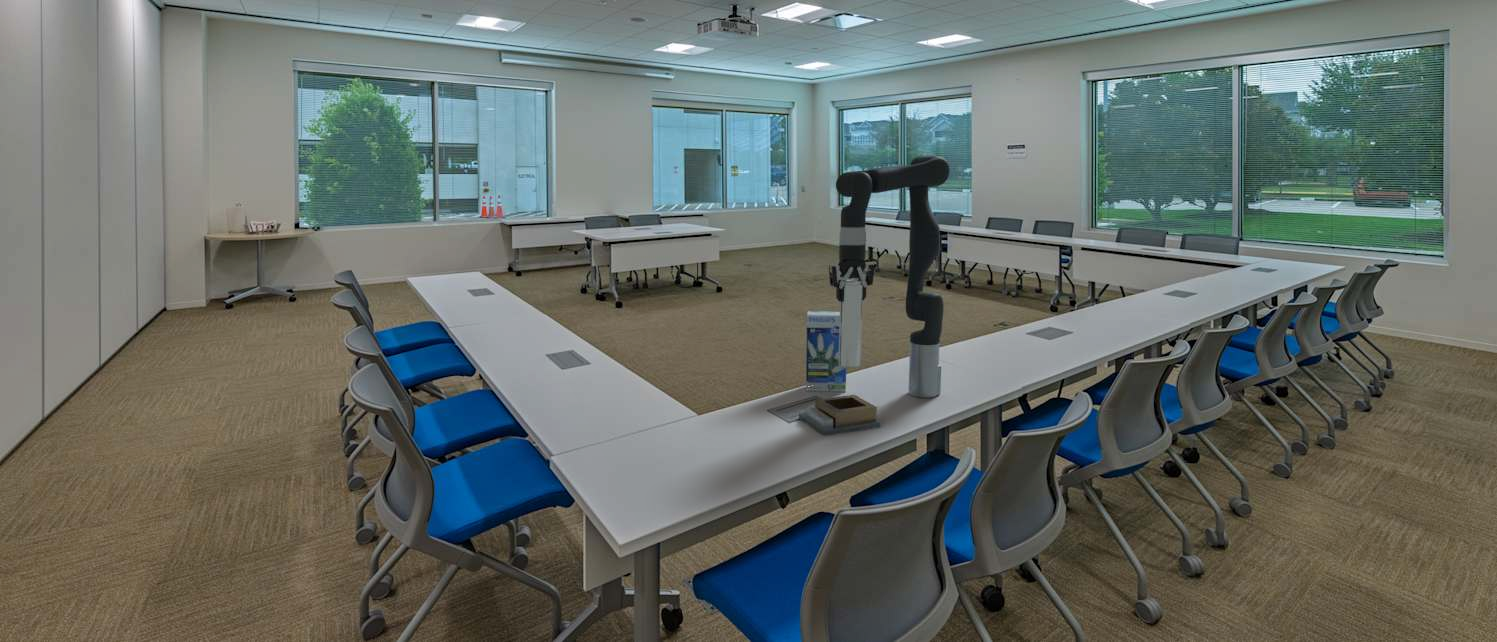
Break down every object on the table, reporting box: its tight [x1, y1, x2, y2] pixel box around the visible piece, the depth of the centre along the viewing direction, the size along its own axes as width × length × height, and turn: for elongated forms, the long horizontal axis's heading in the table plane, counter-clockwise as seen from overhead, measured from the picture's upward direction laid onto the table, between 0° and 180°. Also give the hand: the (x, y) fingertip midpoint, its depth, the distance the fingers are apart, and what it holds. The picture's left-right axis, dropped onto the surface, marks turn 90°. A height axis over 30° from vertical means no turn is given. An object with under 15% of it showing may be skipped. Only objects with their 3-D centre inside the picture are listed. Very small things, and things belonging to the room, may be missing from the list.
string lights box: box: [805, 310, 847, 393], centre depth 243 cm, size 13×8×26 cm, turn 84°
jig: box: [798, 394, 882, 436], centre depth 211 cm, size 18×16×6 cm
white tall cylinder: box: [838, 279, 863, 368], centre depth 214 cm, size 6×6×25 cm
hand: (851, 300), depth 213 cm, fingers closed on white tall cylinder, 6 cm apart
